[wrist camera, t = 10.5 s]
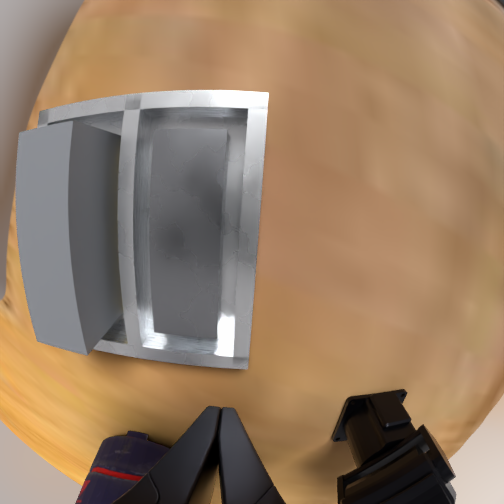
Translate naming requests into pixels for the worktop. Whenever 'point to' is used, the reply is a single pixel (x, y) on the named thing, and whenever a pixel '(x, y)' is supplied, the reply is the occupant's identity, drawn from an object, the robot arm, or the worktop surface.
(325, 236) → the worktop surface
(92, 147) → the panel
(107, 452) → the grenade
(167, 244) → the rack
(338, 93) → the worktop surface
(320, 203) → the worktop surface
